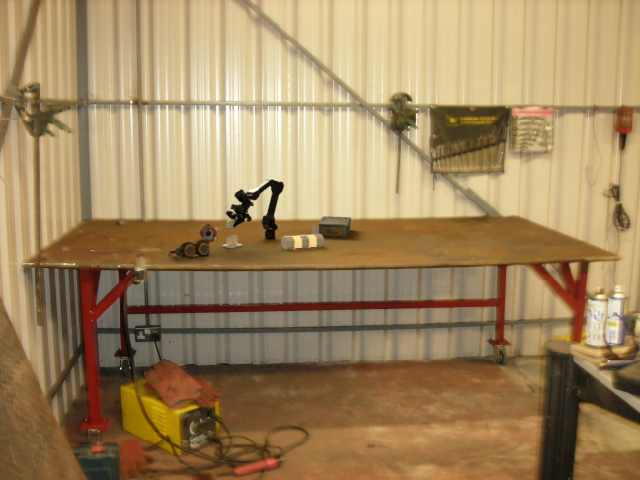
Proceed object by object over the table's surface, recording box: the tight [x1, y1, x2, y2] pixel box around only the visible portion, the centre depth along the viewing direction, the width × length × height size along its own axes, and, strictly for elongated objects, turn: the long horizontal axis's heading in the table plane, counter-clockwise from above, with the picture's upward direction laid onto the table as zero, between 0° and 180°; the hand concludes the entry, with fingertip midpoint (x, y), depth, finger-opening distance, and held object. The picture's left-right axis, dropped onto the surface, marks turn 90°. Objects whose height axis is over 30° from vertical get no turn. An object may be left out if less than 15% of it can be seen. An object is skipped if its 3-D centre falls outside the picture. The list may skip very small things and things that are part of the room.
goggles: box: [169, 239, 211, 258], centre depth 393 cm, size 24×24×10 cm
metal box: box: [317, 216, 352, 239], centre depth 463 cm, size 21×32×10 cm, turn 174°
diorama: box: [280, 224, 325, 250], centre depth 416 cm, size 25×10×13 cm, turn 114°
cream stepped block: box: [221, 234, 243, 249], centre depth 416 cm, size 10×8×6 cm
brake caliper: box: [199, 223, 218, 242], centre depth 437 cm, size 11×11×12 cm
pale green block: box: [226, 218, 238, 230], centre depth 414 cm, size 7×2×5 cm, turn 141°
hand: (232, 226), depth 414 cm, fingers closed on pale green block, 2 cm apart
